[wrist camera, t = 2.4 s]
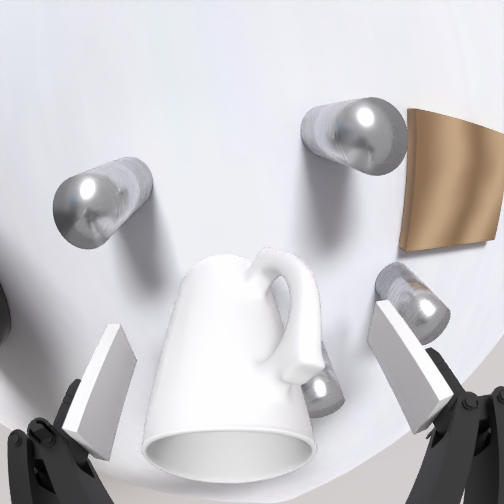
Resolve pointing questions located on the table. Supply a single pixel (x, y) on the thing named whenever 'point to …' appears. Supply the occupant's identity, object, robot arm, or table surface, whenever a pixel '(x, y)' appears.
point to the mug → (236, 372)
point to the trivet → (451, 182)
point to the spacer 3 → (357, 134)
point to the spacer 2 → (323, 391)
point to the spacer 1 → (100, 201)
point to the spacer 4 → (413, 302)
